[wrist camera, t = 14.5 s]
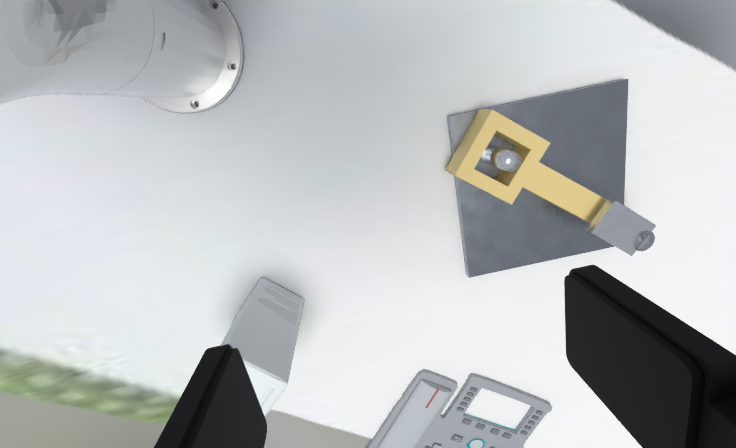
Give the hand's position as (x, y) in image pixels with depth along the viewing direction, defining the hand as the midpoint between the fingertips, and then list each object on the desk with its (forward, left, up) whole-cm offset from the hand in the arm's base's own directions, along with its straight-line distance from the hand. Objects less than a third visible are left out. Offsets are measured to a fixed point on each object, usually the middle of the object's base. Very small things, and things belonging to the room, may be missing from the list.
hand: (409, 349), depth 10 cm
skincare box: (+16, -15, -34) cm, 40 cm away
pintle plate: (+7, +21, -33) cm, 40 cm away
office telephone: (+43, +7, -34) cm, 55 cm away
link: (+5, +19, -32) cm, 38 cm away
